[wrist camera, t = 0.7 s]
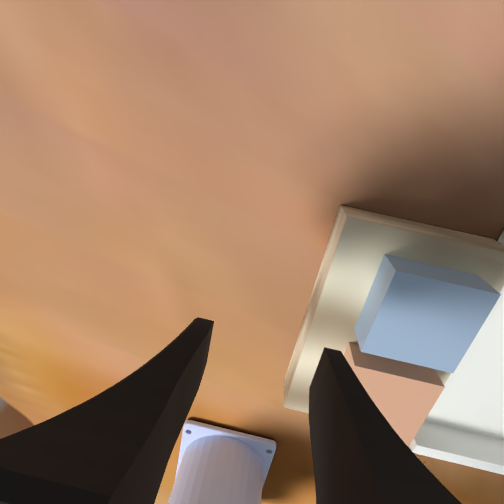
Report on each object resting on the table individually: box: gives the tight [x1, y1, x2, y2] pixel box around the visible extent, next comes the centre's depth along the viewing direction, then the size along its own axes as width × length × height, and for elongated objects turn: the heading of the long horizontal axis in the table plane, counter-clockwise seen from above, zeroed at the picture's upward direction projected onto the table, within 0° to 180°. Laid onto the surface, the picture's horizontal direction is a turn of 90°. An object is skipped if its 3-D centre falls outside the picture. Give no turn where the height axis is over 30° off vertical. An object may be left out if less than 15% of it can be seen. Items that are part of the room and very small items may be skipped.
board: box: [284, 205, 504, 413], centre depth 20 cm, size 14×9×2 cm, turn 169°
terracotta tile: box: [344, 342, 445, 446], centre depth 19 cm, size 5×5×2 cm
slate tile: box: [354, 254, 501, 373], centre depth 17 cm, size 5×5×2 cm
